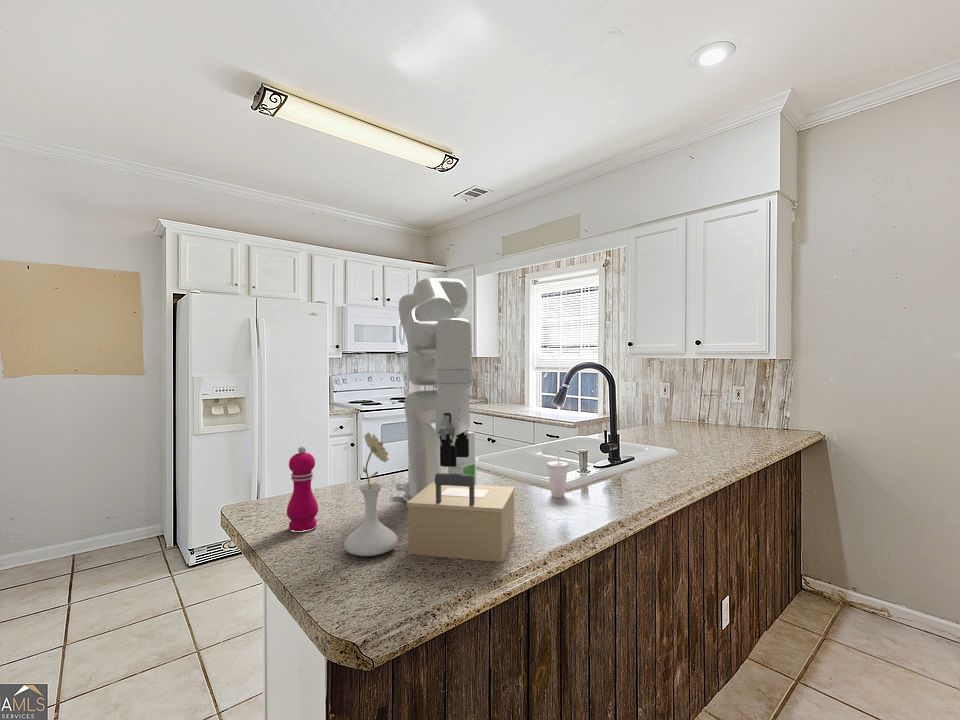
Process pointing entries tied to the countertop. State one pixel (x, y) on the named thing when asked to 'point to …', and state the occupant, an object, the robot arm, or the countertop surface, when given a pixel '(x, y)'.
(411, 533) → the carton
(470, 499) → the carton lid
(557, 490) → the smoothie
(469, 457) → the skincare box
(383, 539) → the flower in vase
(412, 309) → the robot arm
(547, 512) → the countertop surface
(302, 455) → the pepper mill
